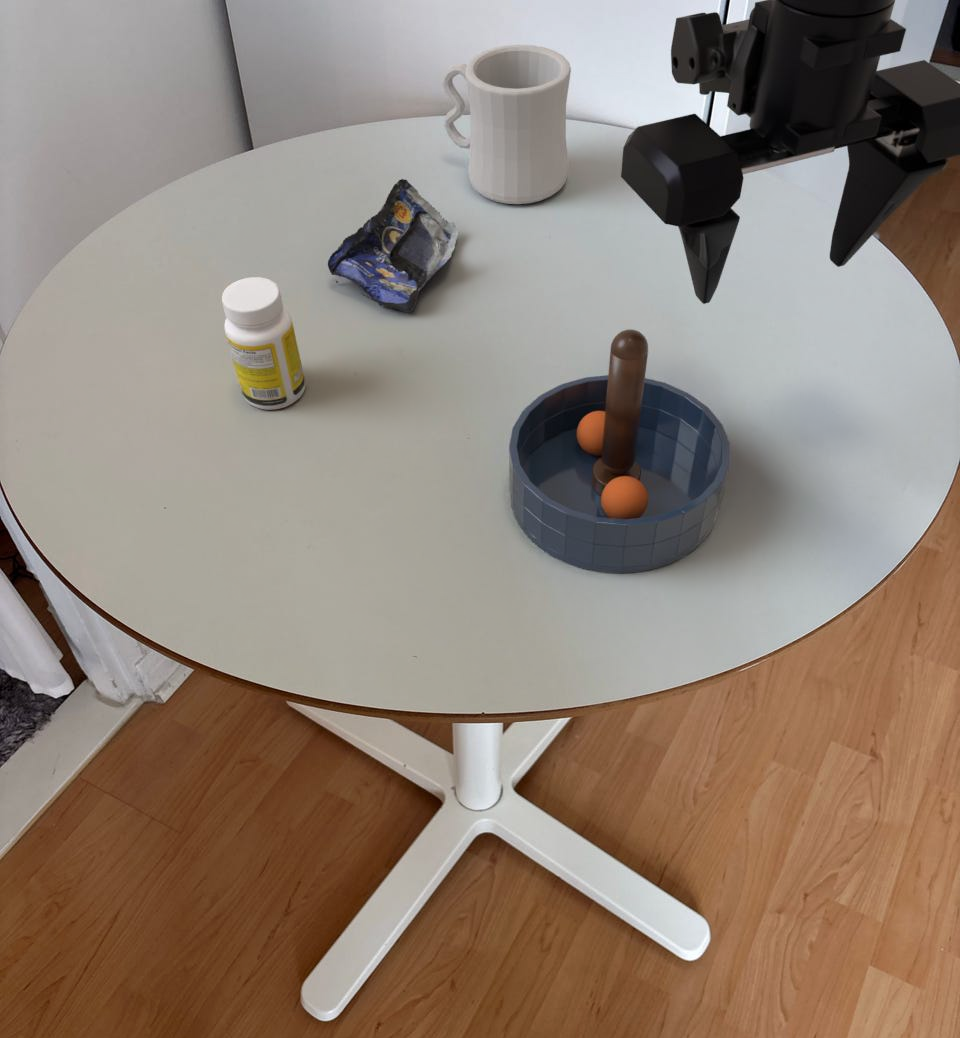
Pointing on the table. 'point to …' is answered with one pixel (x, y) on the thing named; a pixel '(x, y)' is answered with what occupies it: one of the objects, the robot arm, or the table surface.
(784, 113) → the robot arm
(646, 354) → the wooden pestle
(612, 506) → the ball
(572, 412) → the bowl
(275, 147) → the table surface
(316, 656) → the table surface
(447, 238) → the snack package
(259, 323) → the supplement bottle
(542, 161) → the mug
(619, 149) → the table surface
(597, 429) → the ball
